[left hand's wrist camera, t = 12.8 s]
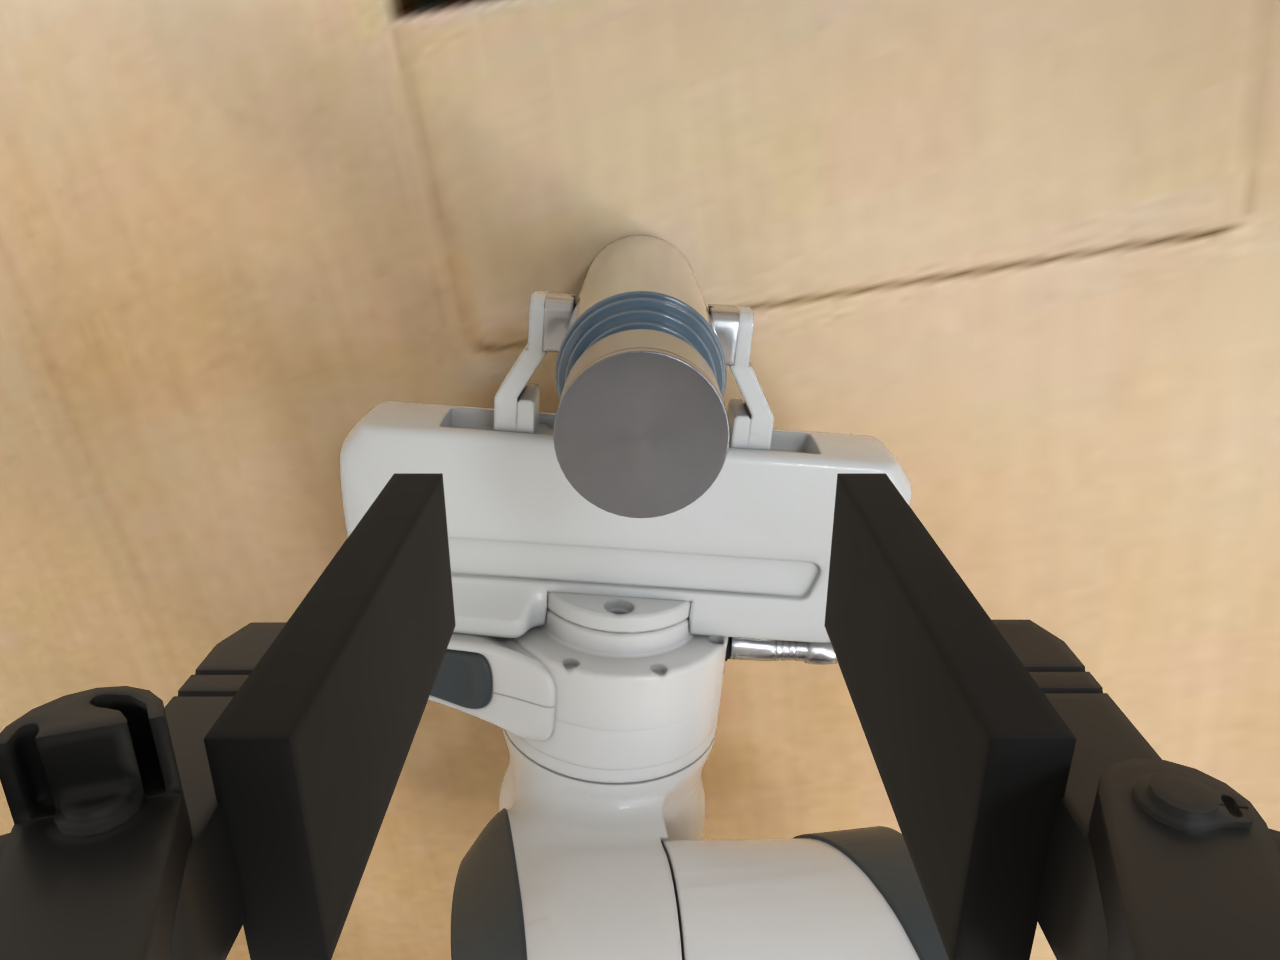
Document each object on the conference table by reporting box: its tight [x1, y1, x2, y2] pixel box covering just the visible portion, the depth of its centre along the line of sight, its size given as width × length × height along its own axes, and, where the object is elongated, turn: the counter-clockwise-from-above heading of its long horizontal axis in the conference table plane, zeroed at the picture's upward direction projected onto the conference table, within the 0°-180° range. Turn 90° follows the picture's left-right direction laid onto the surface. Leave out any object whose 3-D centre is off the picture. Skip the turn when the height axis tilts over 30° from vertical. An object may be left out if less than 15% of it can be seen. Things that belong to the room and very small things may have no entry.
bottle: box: [555, 235, 727, 400], centre depth 29 cm, size 5×5×18 cm
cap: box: [553, 329, 730, 518], centre depth 21 cm, size 4×4×2 cm
